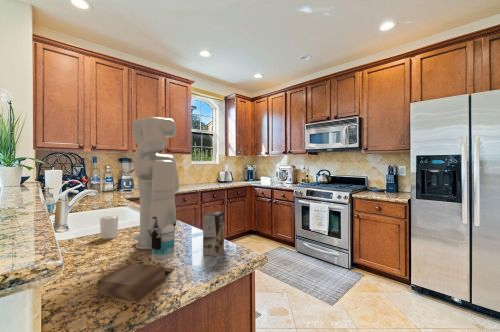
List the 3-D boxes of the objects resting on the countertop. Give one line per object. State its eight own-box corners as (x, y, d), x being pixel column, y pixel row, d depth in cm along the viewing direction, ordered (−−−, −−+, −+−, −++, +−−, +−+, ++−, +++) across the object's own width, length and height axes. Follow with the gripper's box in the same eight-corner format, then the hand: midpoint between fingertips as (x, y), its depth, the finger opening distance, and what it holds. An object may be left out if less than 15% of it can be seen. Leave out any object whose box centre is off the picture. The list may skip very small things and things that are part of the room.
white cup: (121, 236, 120) (121, 216, 120) (104, 240, 113) (105, 219, 113) (113, 233, 124) (113, 214, 124) (96, 237, 117) (96, 217, 117)
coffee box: (217, 256, 94) (217, 215, 94) (202, 255, 95) (202, 214, 95) (224, 248, 103) (224, 211, 103) (210, 247, 104) (210, 210, 104)
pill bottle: (155, 253, 88) (155, 216, 88) (176, 252, 89) (176, 216, 89) (149, 261, 80) (149, 221, 80) (171, 260, 81) (171, 220, 81)
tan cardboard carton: (97, 297, 66) (97, 280, 66) (146, 267, 85) (146, 254, 85) (137, 304, 63) (137, 286, 63) (178, 272, 82) (178, 257, 82)
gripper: (168, 192, 94) (168, 237, 94) (137, 198, 77) (137, 252, 77) (185, 192, 92) (185, 238, 92) (157, 199, 75) (157, 255, 75)
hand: (163, 244), depth 84 cm, fingers closed on pill bottle, 7 cm apart
